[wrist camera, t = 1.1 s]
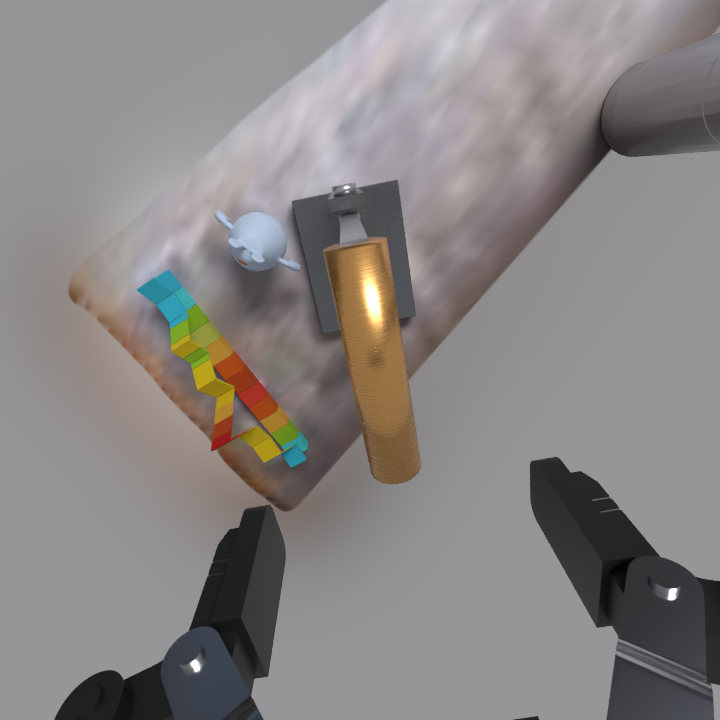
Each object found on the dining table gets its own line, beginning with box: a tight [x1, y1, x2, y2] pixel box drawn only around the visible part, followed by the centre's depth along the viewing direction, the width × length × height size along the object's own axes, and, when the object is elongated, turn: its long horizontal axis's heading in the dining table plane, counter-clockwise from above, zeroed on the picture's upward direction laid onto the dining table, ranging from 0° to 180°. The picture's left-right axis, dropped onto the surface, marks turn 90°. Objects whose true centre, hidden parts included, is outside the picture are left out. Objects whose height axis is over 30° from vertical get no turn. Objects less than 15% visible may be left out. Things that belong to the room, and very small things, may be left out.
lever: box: [323, 211, 421, 484], centre depth 30 cm, size 3×13×20 cm, turn 11°
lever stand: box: [292, 180, 416, 333], centre depth 44 cm, size 12×18×16 cm
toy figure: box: [215, 211, 301, 272], centre depth 44 cm, size 11×6×12 cm, turn 55°
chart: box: [137, 270, 309, 468], centre depth 50 cm, size 30×3×15 cm, turn 32°
